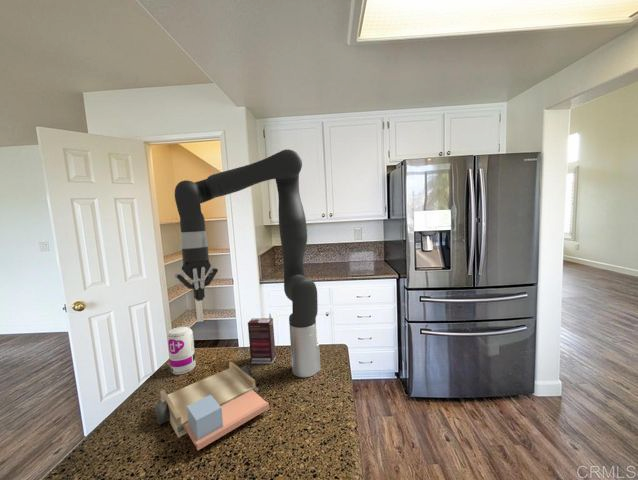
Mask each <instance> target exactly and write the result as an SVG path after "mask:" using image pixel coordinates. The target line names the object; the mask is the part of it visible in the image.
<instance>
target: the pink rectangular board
mask: <svg viewBox="0 0 638 480" xmlns="http://www.w3.org/2000/svg"><path fill="white" fill-rule="evenodd" d="M221 407H222V418H223V427H222V428H220V429H218V430H216V431H214V432H213V433H211V434H209V435H207V436H206V437H204V438H202V439H200V440H199V441H198V440H197V438H196V436H195V435H194V433H193V432H192V430H191V428H190V427H189V425H188V423H187V424H185V429H186V431H187V433H186V434H187V435H188V436H189V438H190V440H191V441H192V443H193V444H194V446H195V449H196V451H199V450H202V449H204V448H205V447H206V446H208V445H210V444H211V443H213V442H215V441H216V440H219V439H221V437H224V436H225V435H227V434H229V433H230V432H232V431H233V430H236V429H237V428H238V427H240V426H242V425H244V424H245V423H247V422H249V421H250V420H252V419H254V418H256V417H257V416H258V415H261V414H262V413H264V412H265V411H267V410H269V409H270V403H269V402H268V401H266V400H264V398H263V397H261V396H260V395H259V394H258V393H257V392H256V393H255V392H254V391H253V390H251V391H249V392H247V393H245V394H243V395H242V396H240V397H238V398H236V399H234V400H232V401H230V402H228V403H226V404H224V405H222V406H221Z"/></svg>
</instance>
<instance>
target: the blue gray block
mask: <svg viewBox="0 0 638 480" xmlns="http://www.w3.org/2000/svg"><path fill="white" fill-rule="evenodd" d="M187 415H188V425H189V427H190V428H191V430H192V432H193V433H194V435H195V436H196V438H197V440H198V441H199V440H200V439H202V438H204V437H206V436H207V435H209V434H211V433H213V432H214V431H216V430H218V429H220V428H222V427H223V418H222V407H221V406H220V405H219V404H218V403H217V401H216V400H215V399H214V398H213V397H212V396H211V395H209V396H207V397H205V398H203V399H201V400H198V401H196V402H194V403H192V404H190V405H188V406H187Z"/></svg>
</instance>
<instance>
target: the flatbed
mask: <svg viewBox="0 0 638 480" xmlns="http://www.w3.org/2000/svg"><path fill="white" fill-rule="evenodd" d="M251 390H253V391H254V392H255V393H257V392H258V391H259V388H258V387H257V386H256V379H254V378H253V374H252V371H251V368H250V367H249V366H248V365H244V366H242V367H239V366H238V365H237V364H236V363H235V362H233V361H230V362H228V368H227V369H224V370H222V371H219V372H217V373H215V374H213V375H210V376H207V377H205V378H204V379H201V380H199V381H195V382H194V383H192V384H189V385H187V386H185V387H182V388H179V389H178V390H175V391H172V392H171V393H168V394H167V392H166V390H165V389H162V390H160V391H159V392H160V400H161V402H160V403H158V404H156V405H154V413H155V417H156V422H157V425H158V426H161V425H163V424H165V423H167V422H169V423H170V425H171V427H172V429H173V431H174V432H175V434H176V436H177V438H180V437H182V436H184V435H186V434H188V433H187V431H186V429H185V424H187V423H188V415H187V406H188V405H190V404H192V403H194V402H196V401H198V400H201V399H203V398H205V397H207V396H209V395H211V396H212V397H213V398H214V399H215V400H216V401H217V403H218V404H219V405H220V406H222V405H224V404H226V403H228V402H230V401H232V400H234V399H236V398H238V397H240V396H242V395H243V394H245V393H247V392H249V391H251Z"/></svg>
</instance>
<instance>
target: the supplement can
mask: <svg viewBox="0 0 638 480" xmlns="http://www.w3.org/2000/svg"><path fill="white" fill-rule="evenodd" d="M193 332H194V331H193V330H192V329H191V326H187V325H185V326H177V327H175V328H172V329H171V330H169V331H168V335H167V345H168V356H169V365H170V366H169V367H170V373H172V374H174V375H177V376H178V375H184V374H186V373H187V374H188V373H190V372H191V371H192V370H194V369H195V367H196V366H197V363H196V354H195V353H196V352H195V341H194V333H193Z"/></svg>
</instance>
